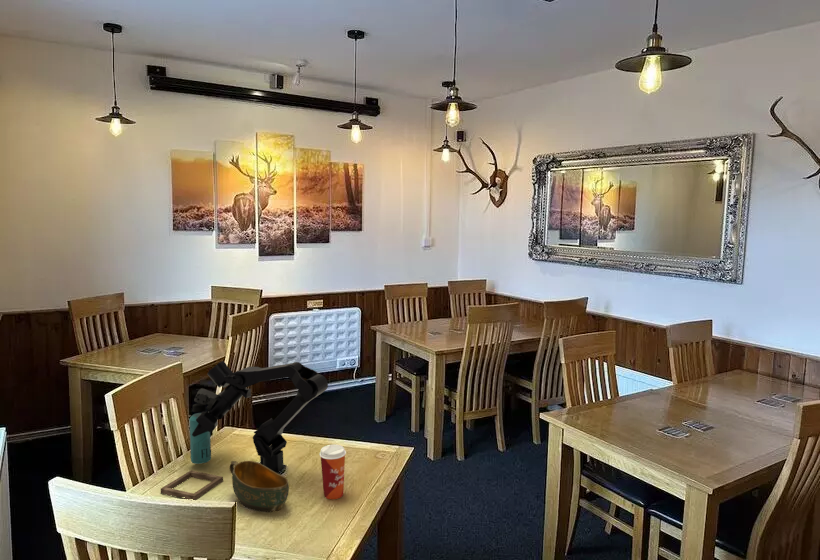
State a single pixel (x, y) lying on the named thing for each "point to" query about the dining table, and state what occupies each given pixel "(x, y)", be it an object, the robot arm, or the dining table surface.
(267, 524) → the dining table surface
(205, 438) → the beverage bottle
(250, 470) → the green bowl
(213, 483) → the walnut collar
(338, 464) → the paper cup
